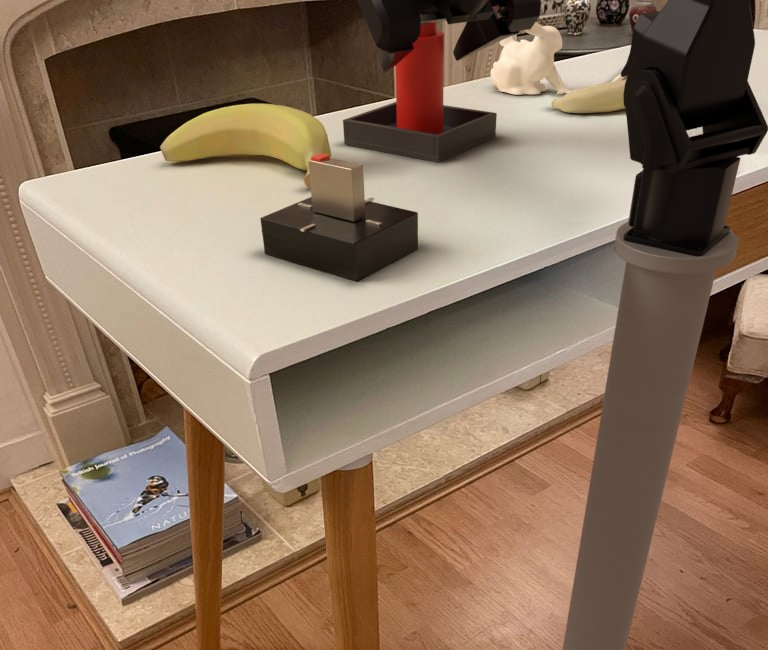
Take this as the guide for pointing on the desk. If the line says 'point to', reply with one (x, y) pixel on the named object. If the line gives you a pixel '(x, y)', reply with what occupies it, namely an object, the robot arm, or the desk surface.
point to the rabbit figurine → (529, 63)
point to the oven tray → (420, 133)
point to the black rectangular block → (340, 238)
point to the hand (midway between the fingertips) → (420, 62)
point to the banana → (250, 135)
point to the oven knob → (337, 187)
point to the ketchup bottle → (422, 83)
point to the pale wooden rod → (618, 78)
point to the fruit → (593, 99)
